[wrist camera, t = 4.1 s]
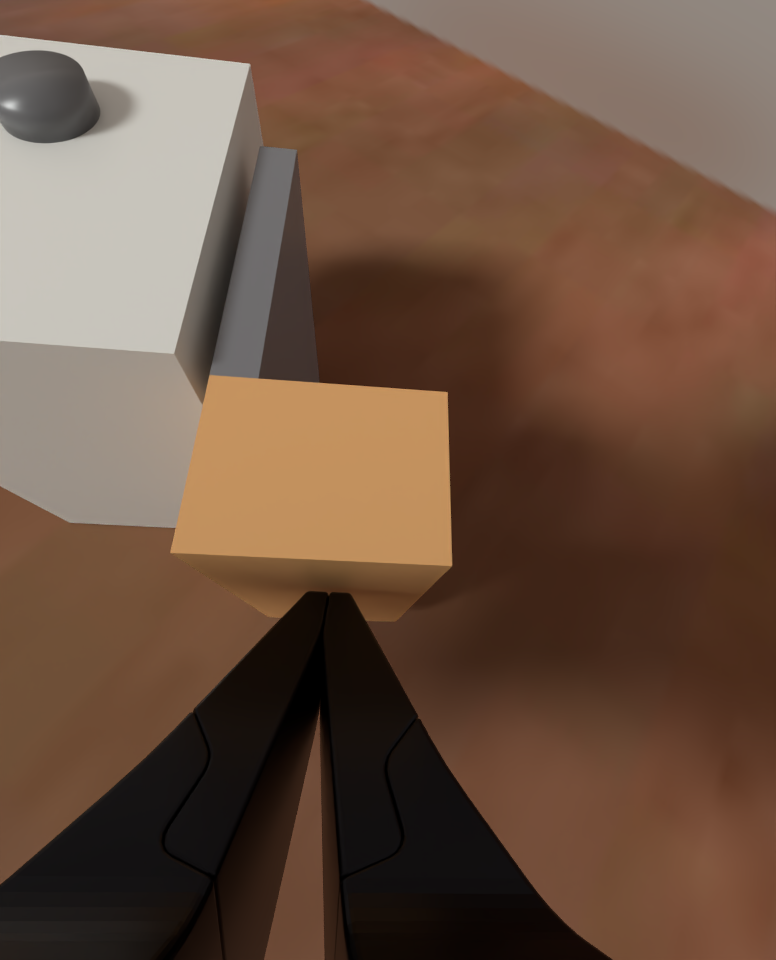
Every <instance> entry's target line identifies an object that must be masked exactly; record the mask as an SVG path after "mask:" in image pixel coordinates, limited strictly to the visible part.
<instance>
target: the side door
mask: <svg viewBox="0 0 776 960" xmlns="http://www.w3.org/2000/svg"><path fill="white" fill-rule="evenodd" d="M170 553H171V554H173V555H174V556H176V557H177V558H179V559H180V560H182V561H184V562H185V563H187V564H188V565H190V566H191V567H193V568H194V569H196V570H197V571H199V572H200V573H202V574H203V575H205V576H206V577H208V578H209V579H211V580H213V581H214V582H216V583H217V584H219V585H220V586H222V587H223V588H225V589H226V590H228V591H229V592H231V593H232V594H234V595H235V596H237V597H239V598H240V599H242V600H243V601H245V602H246V603H248V604H249V605H251V606H252V607H254V608H255V609H257V610H258V611H260V612H261V613H263V614H265V615H266V616H268V617H280V618H282V617H283V616H284V615H285V614H286V613H287V612H288V611H289V610H290V608H291V607H292V606H293V605H294V604H295V603H296V602H297V601H298V600H299V599H300V598H301V597H302V596H303V595H304V594H305V593H306V592H308V591H323V592H327V593H328V595H329V594H330V593H331V592H346V593H350V594H351V595H352V596H353V598H354V600H355V602H356V604H357V606H358V607H359V609H360V611H361V613H362V615H363V616H364V618H365V620H366V621H384V622H396V621H397V620H398V619H399V618H400V617H401V616H402V615H403V614H404V613H405V612H406V611H407V610H408V609H409V608H410V607H411V606H412V605H413V604H414V603H415V602H416V601H417V600H418V599H419V598H420V597H421V596H422V595H423V594H424V593H425V592H426V591H427V590H428V589H429V588H430V587H431V586H432V585H433V584H434V583H435V582H436V581H437V580H438V579H440V578H441V577H442V576H443V575H444V574H445V573H446V572H447V571H448V570H449V569H450V568H451V567H452V540H451V503H450V466H449V428H448V392H439V391H425V390H411V389H397V388H383V387H369V386H356V385H342V384H328V383H319V371H318V360H317V350H316V340H315V330H314V319H313V309H312V299H311V289H310V279H309V268H308V258H307V248H306V238H305V228H304V217H303V207H302V197H301V187H300V177H299V166H298V156H297V150H292V149H282V148H273V147H263V146H260V148H259V152H258V157H257V161H256V166H255V170H254V175H253V179H252V184H251V188H250V193H249V198H248V202H247V207H246V211H245V216H244V220H243V225H242V229H241V234H240V238H239V243H238V248H237V252H236V257H235V261H234V266H233V270H232V275H231V279H230V284H229V288H228V293H227V298H226V302H225V307H224V311H223V316H222V320H221V325H220V329H219V334H218V338H217V343H216V348H215V352H214V357H213V361H212V366H211V370H210V375H209V379H208V384H207V388H206V393H205V398H204V402H203V407H202V411H201V416H200V420H199V425H198V429H197V434H196V438H195V443H194V448H193V452H192V457H191V461H190V466H189V470H188V475H187V479H186V484H185V488H184V493H183V498H182V502H181V507H180V511H179V516H178V520H177V525H176V529H175V534H174V538H173V543H172V548H171V552H170Z"/></svg>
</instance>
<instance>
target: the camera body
mask: <svg viewBox="0 0 776 960" xmlns="http://www.w3.org/2000/svg"><path fill="white" fill-rule="evenodd" d="M260 146H263V141H262V134H261V128H260V122H259V116H258V110H257V103H256V97H255V91H254V85H253V79H252V72H251V66H250V64H246V63H237V62H229V61H220V60H212V59H203V58H194V57H186V56H177V55H168V54H160V53H151V52H143V51H134V50H125V49H117V48H108V47H99V46H91V45H82V44H74V43H65V42H56V41H48V40H39V39H31V38H22V37H13V36H5V35H0V486H1V487H3V488H5V489H7V490H9V491H10V492H12V493H14V494H16V495H18V496H20V497H22V498H24V499H26V500H28V501H29V502H31V503H33V504H35V505H37V506H39V507H41V508H43V509H45V510H47V511H48V512H50V513H52V514H54V515H56V516H58V517H60V518H62V519H64V520H66V521H68V522H69V523H87V524H107V525H127V526H147V527H167V528H176V525H177V520H178V516H179V511H180V507H181V502H182V498H183V493H184V488H185V484H186V479H187V475H188V470H189V466H190V461H191V457H192V452H193V448H194V443H195V438H196V434H197V429H198V425H199V420H200V416H201V411H202V407H203V402H204V398H205V393H206V388H207V384H208V379H209V375H210V370H211V366H212V361H213V357H214V352H215V348H216V343H217V338H218V334H219V329H220V325H221V320H222V316H223V311H224V307H225V302H226V298H227V293H228V288H229V284H230V279H231V275H232V270H233V266H234V261H235V257H236V252H237V248H238V243H239V238H240V234H241V229H242V225H243V220H244V216H245V211H246V207H247V202H248V198H249V193H250V188H251V184H252V179H253V175H254V170H255V166H256V161H257V157H258V152H259V148H260Z"/></svg>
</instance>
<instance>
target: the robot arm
mask: <svg viewBox="0 0 776 960" xmlns="http://www.w3.org/2000/svg"><path fill="white" fill-rule="evenodd" d="M319 709H320V756H321V804H322V852H323V900H324V948H325V960H612V959H611V958H610V957H608V956H607V955H605V954H604V953H603V952H601V951H600V950H598V949H597V948H596V947H594V946H593V945H591V944H590V943H589V942H587V941H586V940H585V939H583V938H582V937H581V936H579V935H578V934H577V933H576V932H575V931H573V930H572V929H571V928H570V927H569V926H568V925H567V924H566V923H565V922H564V921H563V920H562V919H561V918H560V917H559V916H558V915H557V914H556V913H555V912H554V911H553V910H552V909H551V908H550V907H549V906H548V904H547V903H546V902H545V901H544V900H543V899H542V897H541V896H540V895H539V894H538V892H537V891H536V890H535V888H534V887H533V886H532V884H531V883H530V882H529V880H528V879H527V878H526V876H525V875H524V874H523V872H522V871H521V869H520V868H519V867H518V865H517V864H516V862H515V861H514V860H513V858H512V857H511V856H510V854H509V853H508V851H507V850H506V849H505V847H504V846H503V844H502V843H501V842H500V840H499V839H498V837H497V836H496V835H495V833H494V832H493V831H492V829H491V828H490V826H489V825H488V824H487V822H486V821H485V819H484V818H483V817H482V815H481V814H480V812H479V811H478V810H477V808H476V807H475V806H474V804H473V803H472V801H471V800H470V799H469V797H468V796H467V794H466V793H465V791H464V790H463V788H462V787H461V786H460V784H459V783H458V781H457V780H456V778H455V777H454V775H453V774H452V772H451V771H450V769H449V768H448V766H447V765H446V763H445V761H444V760H443V758H442V756H441V755H440V753H439V751H438V750H437V748H436V746H435V745H434V743H433V741H432V740H431V738H430V736H429V734H428V732H427V731H426V729H425V727H424V725H423V723H422V722H421V720H420V719H418V715H417V713H416V711H415V709H414V707H413V706H412V704H411V702H410V700H409V698H408V697H407V695H406V693H405V691H404V689H403V687H402V686H401V684H400V682H399V680H398V678H397V676H396V675H395V673H394V671H393V669H392V667H391V666H390V664H389V662H388V660H387V658H386V656H385V655H384V653H383V651H382V649H381V647H380V646H379V644H378V642H377V640H376V638H375V636H374V635H373V633H372V631H371V629H370V627H369V626H368V624H367V622H366V620H365V618H364V616H363V615H362V613H361V611H360V609H359V607H358V606H357V604H356V602H355V600H354V598H353V596H352V595H351V594H350V593H346V592H331V593H330V594H329V595H328V593H327V592H323V591H308V592H306V593H305V594H304V595H303V596H302V597H301V598H300V599H299V600H298V601H297V602H296V603H295V604H294V605H293V606H292V607H291V608H290V610H289V611H288V612H287V613H286V614H285V615H284V616H283V617H282V618H281V619H280V620H279V621H278V622H277V623H276V624H275V625H274V626H273V627H272V628H271V629H270V630H269V631H268V632H267V633H266V635H265V636H264V637H263V638H262V639H261V640H260V641H259V642H258V643H257V644H256V645H255V646H254V647H253V648H252V649H251V650H250V651H249V652H248V653H247V654H246V655H245V656H244V657H243V658H242V660H241V661H240V662H239V663H238V664H237V665H236V666H235V667H234V668H233V669H232V670H231V671H230V672H229V673H228V674H227V675H226V676H225V677H224V678H223V679H222V680H221V681H220V682H219V683H218V685H217V686H216V687H215V688H214V689H213V690H212V691H211V692H210V693H209V694H208V695H207V696H206V697H205V698H204V699H203V700H202V701H201V702H200V703H199V704H198V705H197V706H196V707H195V708H194V710H193V713H189V714H188V715H187V716H186V718H185V719H184V720H183V721H182V722H181V723H180V724H179V725H178V726H177V727H176V728H175V729H174V730H173V731H172V732H171V733H170V734H169V735H168V736H167V737H166V738H165V739H164V740H163V741H162V742H161V743H160V744H159V745H158V746H157V747H156V748H155V749H154V750H153V751H152V752H151V753H150V754H149V755H148V756H147V757H146V758H145V759H144V760H142V761H141V762H140V763H139V764H138V765H137V766H136V767H135V768H134V769H133V770H131V771H130V772H129V773H128V774H127V775H126V776H125V777H124V778H123V779H121V780H120V781H119V782H118V783H117V784H116V785H115V786H114V787H113V788H112V789H110V790H109V791H108V792H107V793H106V794H105V795H104V796H102V797H101V798H100V799H99V800H98V801H97V802H95V803H94V804H93V805H92V806H91V807H90V808H89V809H87V810H86V811H85V812H84V813H83V814H82V815H80V816H79V817H78V818H77V819H76V820H75V821H74V822H72V823H71V824H70V825H69V826H68V827H67V828H66V829H64V830H63V831H62V832H61V833H60V834H59V835H57V836H56V837H55V838H54V839H53V840H52V841H51V842H49V843H48V844H47V845H46V846H45V847H44V848H42V849H41V850H40V851H39V852H38V853H37V854H36V855H34V856H33V857H32V858H31V859H30V860H29V861H27V862H26V863H25V864H24V865H23V866H22V867H21V868H19V869H18V870H17V871H16V872H15V873H14V874H12V875H11V876H10V877H9V878H8V879H6V880H5V881H4V882H3V883H2V884H0V960H264V957H265V952H266V948H267V943H268V939H269V934H270V930H271V926H272V921H273V917H274V912H275V908H276V903H277V899H278V894H279V890H280V886H281V881H282V877H283V872H284V868H285V863H286V859H287V854H288V850H289V846H290V841H291V837H292V832H293V828H294V823H295V819H296V814H297V810H298V806H299V801H300V797H301V792H302V788H303V783H304V779H305V775H306V770H307V766H308V761H309V757H310V752H311V748H312V743H313V739H314V735H315V730H316V725H317V720H318V715H319Z"/></svg>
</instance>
